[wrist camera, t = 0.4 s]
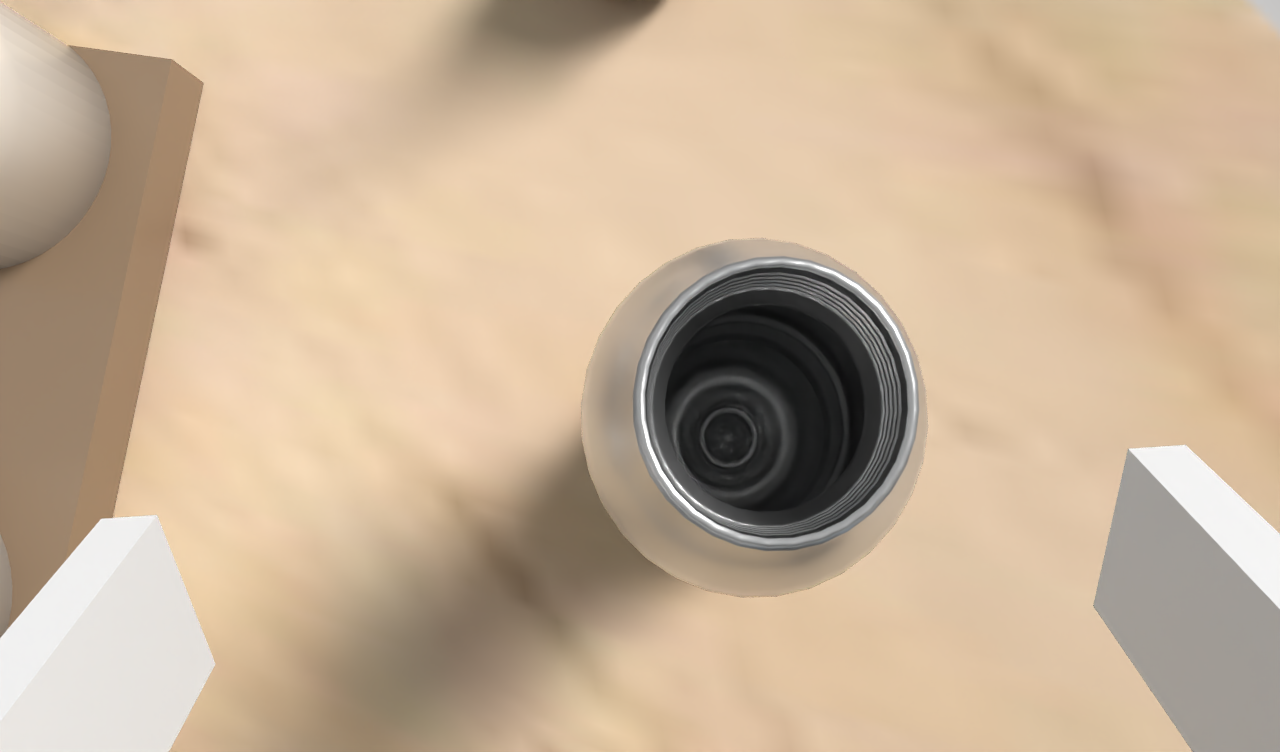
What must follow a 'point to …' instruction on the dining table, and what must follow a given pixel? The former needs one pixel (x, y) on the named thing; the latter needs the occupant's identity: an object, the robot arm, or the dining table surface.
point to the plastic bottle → (754, 417)
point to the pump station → (76, 279)
